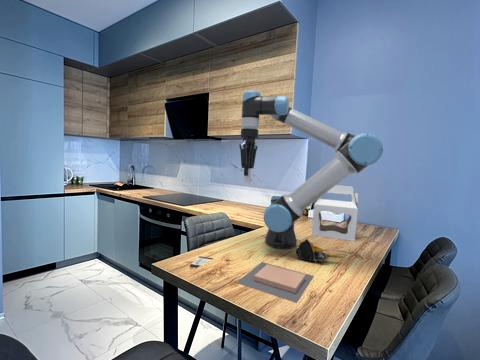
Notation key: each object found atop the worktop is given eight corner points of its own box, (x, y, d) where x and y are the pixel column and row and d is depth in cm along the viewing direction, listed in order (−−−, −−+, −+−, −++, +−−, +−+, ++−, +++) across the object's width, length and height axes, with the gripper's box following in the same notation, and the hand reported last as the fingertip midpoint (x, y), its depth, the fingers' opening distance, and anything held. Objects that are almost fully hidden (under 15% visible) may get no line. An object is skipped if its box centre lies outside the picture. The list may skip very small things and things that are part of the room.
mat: (261, 263, 100) (262, 261, 100) (313, 277, 90) (313, 275, 90) (235, 284, 82) (235, 282, 82) (296, 304, 72) (296, 302, 72)
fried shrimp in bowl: (291, 243, 111) (331, 231, 111) (300, 269, 108) (341, 257, 108) (295, 242, 102) (338, 229, 103) (305, 270, 99) (349, 257, 99)
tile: (267, 264, 93) (305, 274, 87) (267, 268, 94) (305, 279, 87) (254, 275, 84) (295, 288, 77) (253, 280, 84) (295, 293, 77)
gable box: (353, 234, 145) (358, 185, 142) (355, 241, 133) (360, 188, 130) (313, 229, 153) (316, 182, 150) (311, 235, 140) (315, 184, 138)
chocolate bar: (237, 273, 89) (189, 265, 94) (237, 275, 89) (189, 267, 94) (243, 262, 98) (199, 256, 102) (243, 265, 98) (199, 258, 102)
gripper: (249, 130, 118) (246, 181, 120) (234, 127, 107) (231, 183, 109) (263, 130, 114) (260, 183, 116) (250, 126, 103) (247, 185, 105)
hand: (246, 183), depth 113 cm, fingers closed
